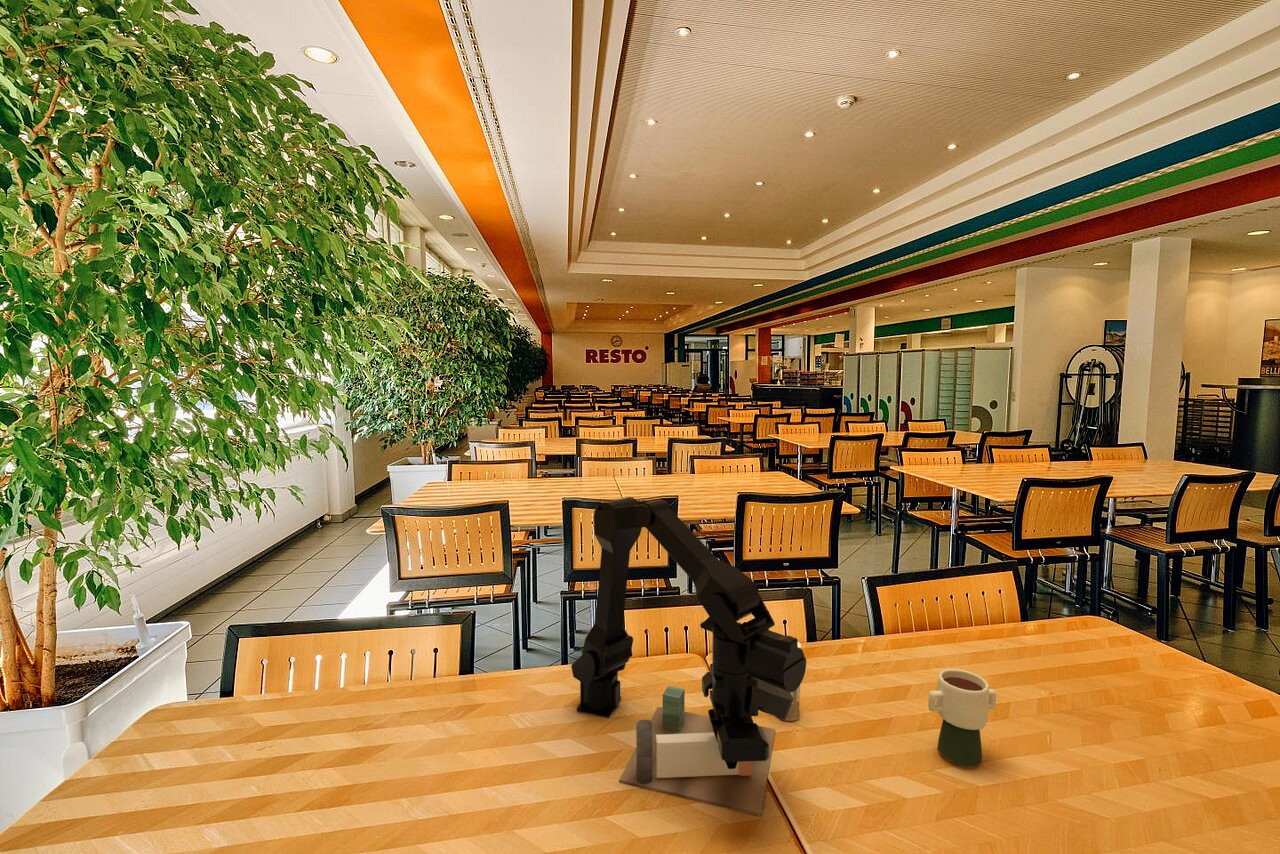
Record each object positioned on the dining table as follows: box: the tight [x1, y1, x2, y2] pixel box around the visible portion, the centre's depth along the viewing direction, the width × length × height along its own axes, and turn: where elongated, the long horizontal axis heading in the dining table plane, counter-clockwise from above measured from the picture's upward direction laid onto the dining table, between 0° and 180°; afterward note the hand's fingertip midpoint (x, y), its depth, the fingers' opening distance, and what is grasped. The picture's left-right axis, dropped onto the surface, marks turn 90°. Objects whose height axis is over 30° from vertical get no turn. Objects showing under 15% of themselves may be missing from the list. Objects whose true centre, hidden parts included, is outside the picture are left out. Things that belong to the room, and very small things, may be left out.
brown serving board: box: [618, 685, 776, 817], centre depth 92 cm, size 21×20×9 cm
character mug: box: [927, 668, 997, 768], centre depth 91 cm, size 11×7×13 cm, turn 94°
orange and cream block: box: [656, 733, 752, 778], centre depth 87 cm, size 14×2×6 cm, turn 93°
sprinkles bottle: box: [784, 641, 802, 722], centre depth 103 cm, size 5×5×13 cm
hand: (731, 767), depth 84 cm, fingers closed
